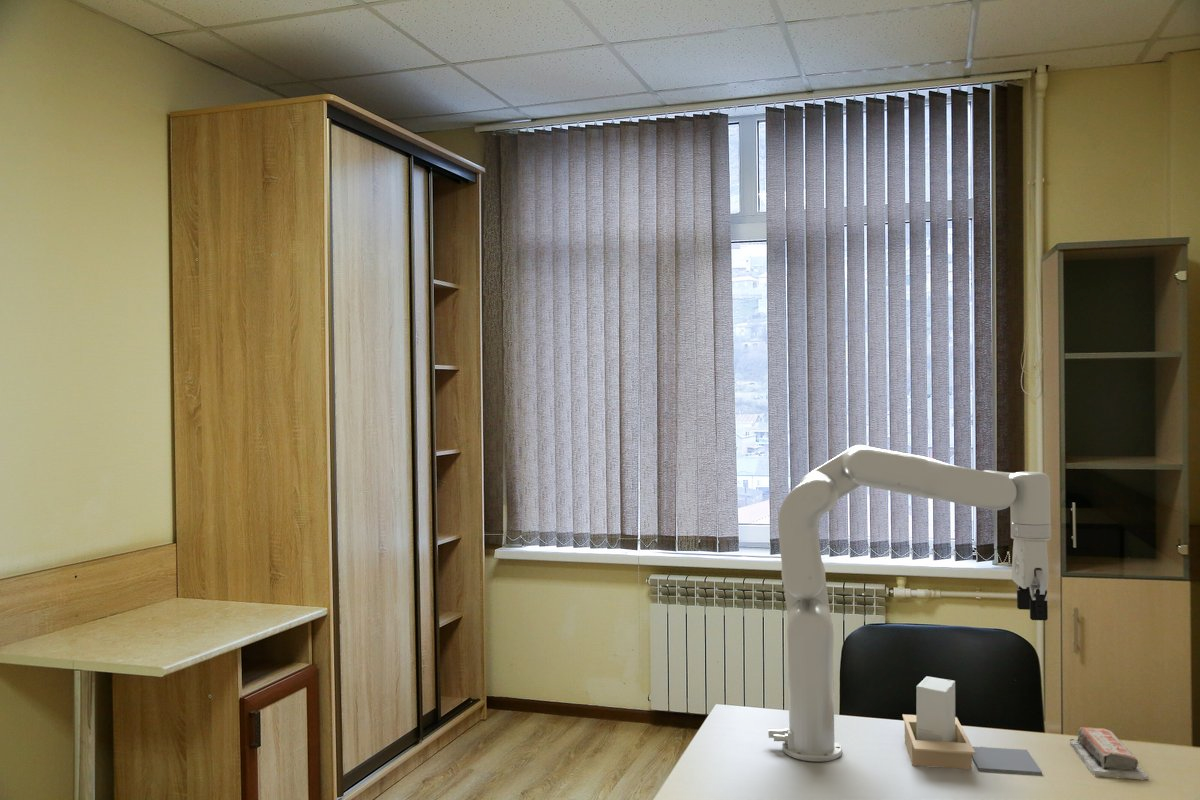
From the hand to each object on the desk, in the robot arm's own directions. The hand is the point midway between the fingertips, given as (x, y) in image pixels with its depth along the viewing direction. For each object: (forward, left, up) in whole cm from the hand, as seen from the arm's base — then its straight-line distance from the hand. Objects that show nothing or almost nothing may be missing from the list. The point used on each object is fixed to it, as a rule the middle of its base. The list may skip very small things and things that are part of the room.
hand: (1032, 614), depth 188 cm
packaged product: (+15, +5, -32) cm, 36 cm away
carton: (-19, +2, -31) cm, 36 cm away
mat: (-6, +1, -31) cm, 32 cm away
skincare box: (-19, +2, -31) cm, 37 cm away
